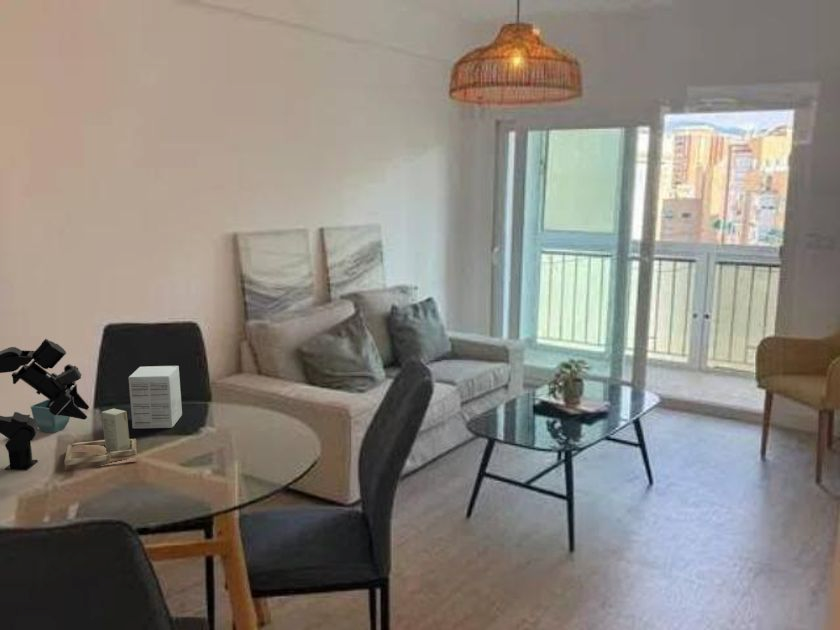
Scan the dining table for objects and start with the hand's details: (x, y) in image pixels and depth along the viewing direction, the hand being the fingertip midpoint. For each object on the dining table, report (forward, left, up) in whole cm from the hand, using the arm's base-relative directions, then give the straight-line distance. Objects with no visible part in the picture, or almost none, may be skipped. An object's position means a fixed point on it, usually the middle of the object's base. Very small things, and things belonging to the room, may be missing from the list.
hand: (87, 413), depth 227 cm
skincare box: (+3, -7, -13) cm, 15 cm away
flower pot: (+24, +22, -14) cm, 35 cm away
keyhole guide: (+1, -3, -14) cm, 14 cm away
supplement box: (+32, -9, -14) cm, 36 cm away
